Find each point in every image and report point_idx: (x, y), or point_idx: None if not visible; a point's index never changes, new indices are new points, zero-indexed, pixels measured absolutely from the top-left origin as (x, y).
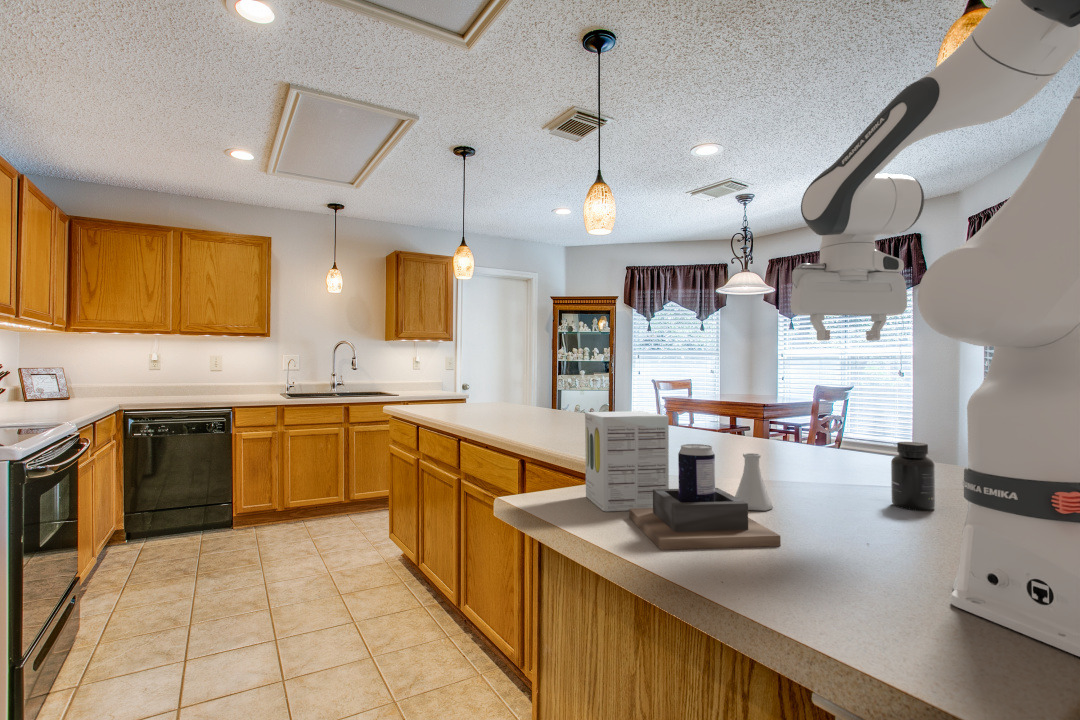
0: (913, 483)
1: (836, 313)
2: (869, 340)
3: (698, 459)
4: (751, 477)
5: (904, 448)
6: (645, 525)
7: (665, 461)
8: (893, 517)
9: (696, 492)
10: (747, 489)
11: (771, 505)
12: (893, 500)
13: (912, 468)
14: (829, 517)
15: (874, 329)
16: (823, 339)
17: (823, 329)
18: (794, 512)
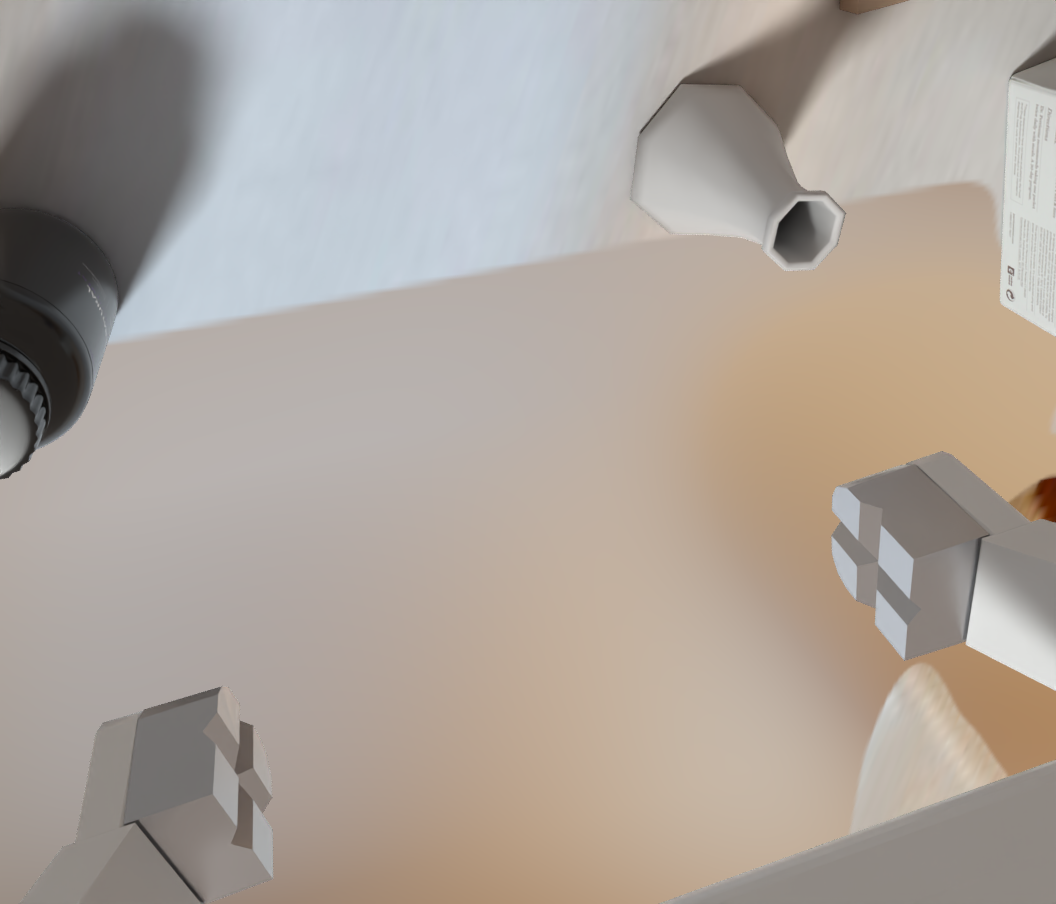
0: (22, 252)
1: (1036, 769)
2: (239, 730)
3: None
4: (774, 159)
5: (17, 372)
6: None
7: None
8: (178, 61)
9: None
10: (769, 138)
11: (648, 136)
12: (115, 287)
13: (8, 282)
14: (459, 19)
15: (157, 875)
16: (918, 461)
17: (1023, 528)
18: (572, 91)
